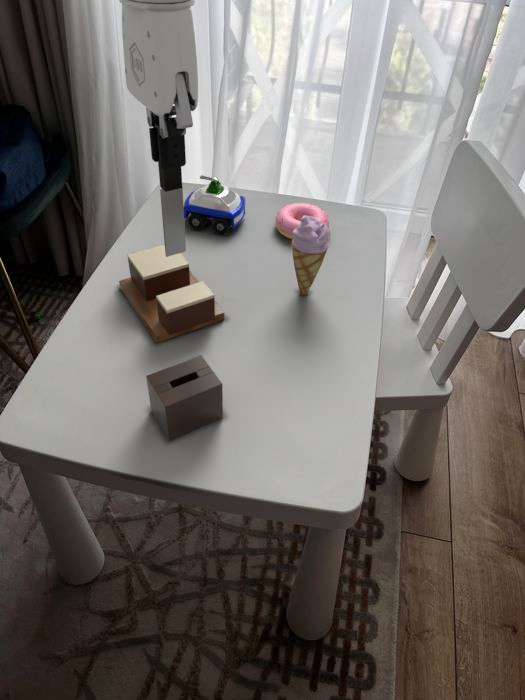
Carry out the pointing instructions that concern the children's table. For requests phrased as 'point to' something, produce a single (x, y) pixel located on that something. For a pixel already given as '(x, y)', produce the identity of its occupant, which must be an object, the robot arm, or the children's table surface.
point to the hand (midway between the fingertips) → (168, 162)
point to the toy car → (214, 207)
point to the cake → (158, 272)
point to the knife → (172, 206)
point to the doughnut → (297, 217)
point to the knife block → (185, 397)
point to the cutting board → (150, 310)
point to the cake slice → (186, 307)
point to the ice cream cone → (309, 250)
